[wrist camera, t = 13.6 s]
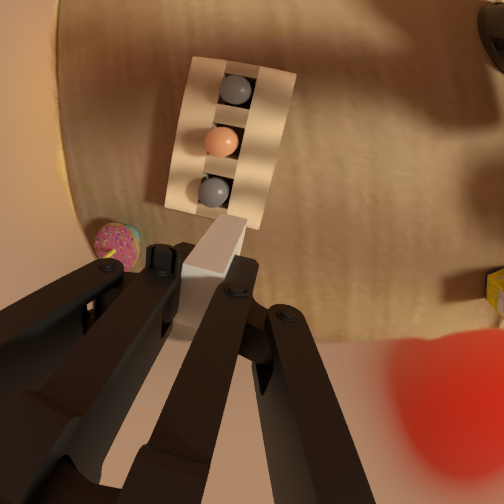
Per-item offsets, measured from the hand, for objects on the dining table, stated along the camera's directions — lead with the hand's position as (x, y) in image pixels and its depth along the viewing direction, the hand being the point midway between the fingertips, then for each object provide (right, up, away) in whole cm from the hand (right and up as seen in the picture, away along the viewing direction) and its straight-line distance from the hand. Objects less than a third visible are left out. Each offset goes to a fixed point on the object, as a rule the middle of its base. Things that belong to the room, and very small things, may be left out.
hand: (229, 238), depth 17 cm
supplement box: (+50, -6, +30) cm, 58 cm away
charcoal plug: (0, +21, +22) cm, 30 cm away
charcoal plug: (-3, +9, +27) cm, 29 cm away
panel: (-2, +16, +26) cm, 31 cm away
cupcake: (-21, +2, +35) cm, 41 cm away
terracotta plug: (-2, +14, +23) cm, 27 cm away
